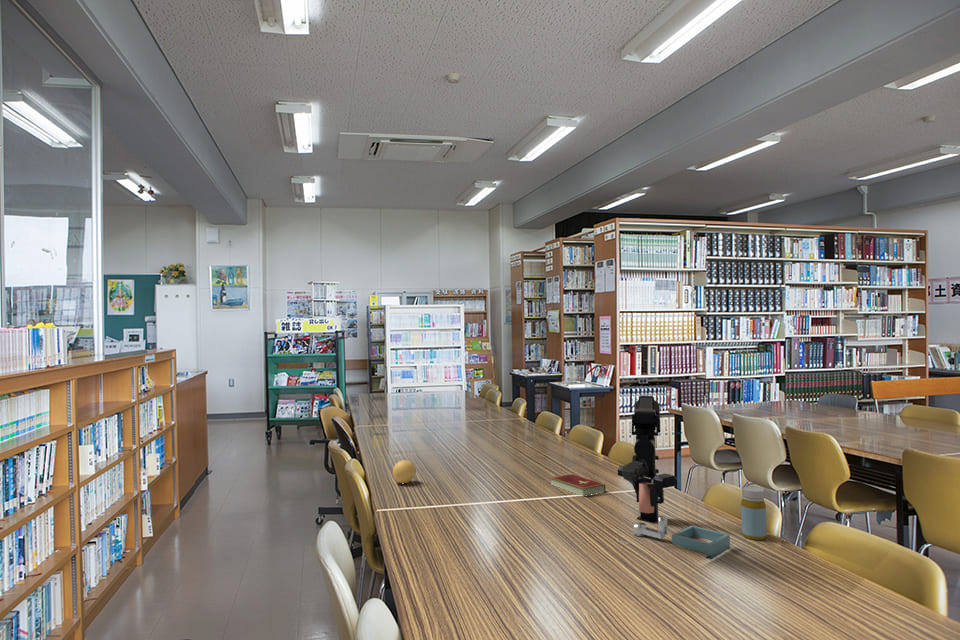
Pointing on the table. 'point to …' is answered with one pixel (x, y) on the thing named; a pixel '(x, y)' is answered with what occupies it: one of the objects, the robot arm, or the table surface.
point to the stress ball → (404, 471)
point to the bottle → (753, 513)
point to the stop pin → (645, 498)
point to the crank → (642, 530)
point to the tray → (713, 549)
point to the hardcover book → (578, 484)
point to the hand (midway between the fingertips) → (646, 504)
